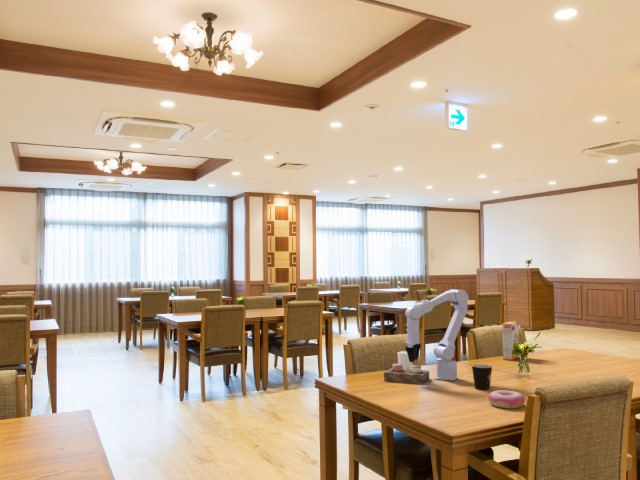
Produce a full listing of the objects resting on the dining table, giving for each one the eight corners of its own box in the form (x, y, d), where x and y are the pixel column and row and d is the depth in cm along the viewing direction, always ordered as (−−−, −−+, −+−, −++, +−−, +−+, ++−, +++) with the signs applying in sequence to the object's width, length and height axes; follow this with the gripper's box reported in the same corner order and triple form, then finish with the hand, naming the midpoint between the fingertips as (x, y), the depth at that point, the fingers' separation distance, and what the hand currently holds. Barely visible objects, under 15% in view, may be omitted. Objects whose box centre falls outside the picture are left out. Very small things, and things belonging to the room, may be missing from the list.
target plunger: (404, 371, 269) (404, 364, 269) (401, 373, 264) (401, 365, 265) (394, 370, 271) (394, 363, 271) (391, 372, 267) (391, 365, 267)
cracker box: (513, 360, 315) (512, 323, 316) (502, 359, 318) (501, 323, 319) (519, 357, 327) (518, 321, 328) (509, 356, 330) (508, 321, 331)
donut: (484, 407, 215) (484, 394, 216) (494, 399, 226) (494, 387, 227) (519, 411, 208) (519, 398, 208) (528, 404, 219) (528, 391, 219)
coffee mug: (482, 391, 240) (481, 368, 241) (468, 387, 248) (467, 365, 248) (501, 388, 246) (501, 366, 246) (487, 384, 253) (487, 363, 254)
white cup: (396, 372, 283) (395, 353, 284) (399, 370, 291) (399, 351, 291) (411, 373, 280) (411, 354, 281) (414, 371, 288) (414, 351, 288)
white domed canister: (422, 372, 265) (422, 365, 265) (419, 374, 261) (419, 367, 261) (412, 371, 267) (412, 364, 268) (409, 373, 263) (409, 366, 263)
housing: (429, 379, 267) (429, 370, 267) (423, 384, 256) (423, 375, 257) (391, 376, 275) (391, 368, 275) (384, 380, 264) (384, 372, 264)
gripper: (408, 330, 273) (408, 357, 272) (401, 333, 259) (401, 362, 259) (422, 330, 270) (422, 358, 270) (416, 334, 257) (416, 363, 256)
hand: (413, 360), depth 264 cm, fingers open, 7 cm apart
